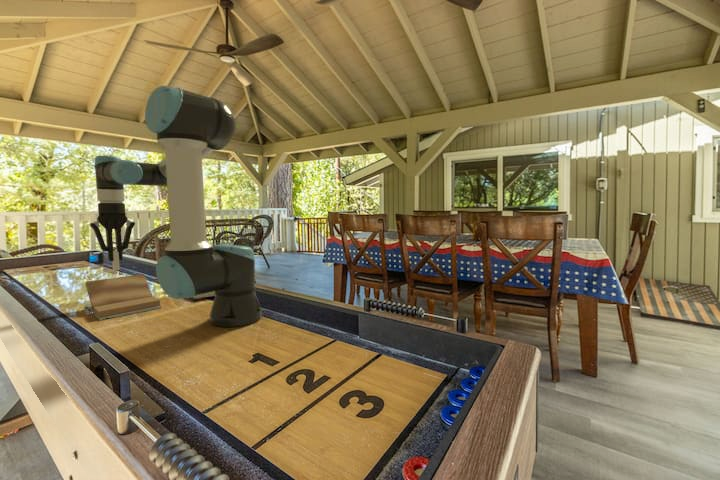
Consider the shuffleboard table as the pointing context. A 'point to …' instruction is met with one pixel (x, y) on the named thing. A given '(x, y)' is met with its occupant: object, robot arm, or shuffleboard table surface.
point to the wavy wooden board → (117, 290)
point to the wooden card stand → (125, 307)
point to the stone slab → (210, 294)
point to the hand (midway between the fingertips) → (116, 269)
